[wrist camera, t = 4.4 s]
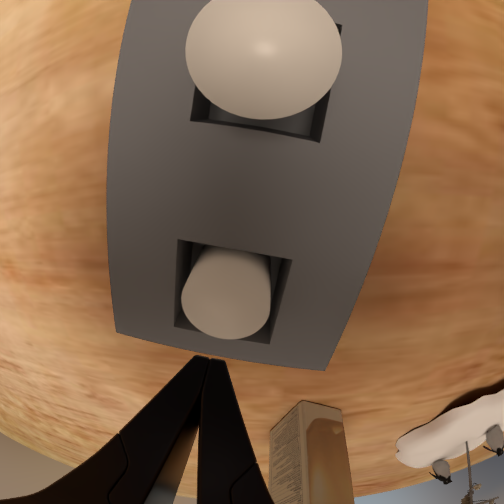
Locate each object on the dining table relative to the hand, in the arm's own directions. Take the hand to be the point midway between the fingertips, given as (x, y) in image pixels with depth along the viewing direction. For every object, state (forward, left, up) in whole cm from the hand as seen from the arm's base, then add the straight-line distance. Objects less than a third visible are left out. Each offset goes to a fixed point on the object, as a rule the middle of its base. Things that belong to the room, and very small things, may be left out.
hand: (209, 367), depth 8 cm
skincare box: (-18, +6, -10) cm, 22 cm away
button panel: (+6, -6, -10) cm, 13 cm away
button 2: (-1, +1, -9) cm, 9 cm away
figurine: (-36, -8, -10) cm, 38 cm away
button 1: (+6, -6, -6) cm, 10 cm away
